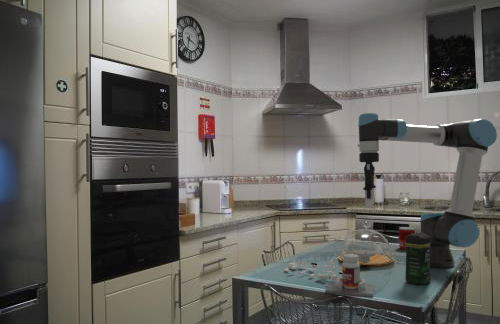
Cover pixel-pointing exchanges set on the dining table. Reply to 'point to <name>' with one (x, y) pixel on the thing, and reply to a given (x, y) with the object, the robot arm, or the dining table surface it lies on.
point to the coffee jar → (418, 258)
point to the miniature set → (321, 276)
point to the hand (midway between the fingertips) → (370, 205)
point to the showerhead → (364, 255)
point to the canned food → (404, 235)
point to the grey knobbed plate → (361, 291)
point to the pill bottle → (350, 271)
